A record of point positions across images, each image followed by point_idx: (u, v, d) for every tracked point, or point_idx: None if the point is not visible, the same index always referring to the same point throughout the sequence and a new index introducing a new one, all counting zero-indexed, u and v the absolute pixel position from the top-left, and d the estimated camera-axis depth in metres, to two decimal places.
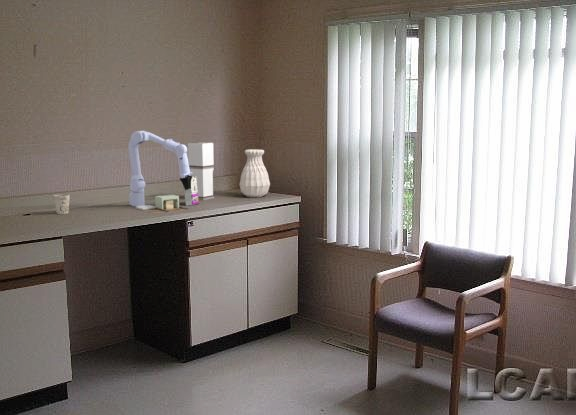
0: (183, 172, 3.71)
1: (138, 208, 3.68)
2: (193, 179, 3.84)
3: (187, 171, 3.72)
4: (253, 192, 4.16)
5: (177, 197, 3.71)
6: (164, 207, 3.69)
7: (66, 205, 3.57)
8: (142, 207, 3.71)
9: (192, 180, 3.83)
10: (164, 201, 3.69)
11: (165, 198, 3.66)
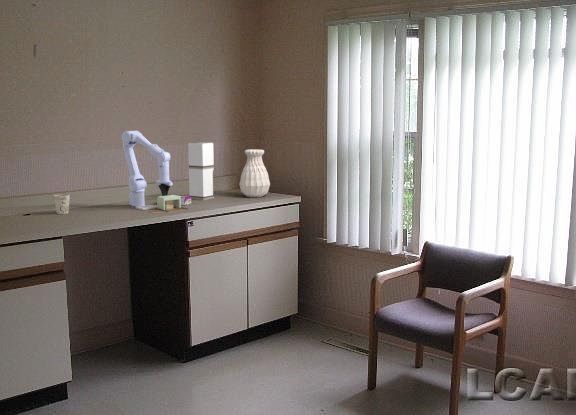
0: (166, 180, 3.69)
1: (138, 208, 3.68)
2: None
3: None
4: (253, 192, 4.16)
5: (179, 197, 3.70)
6: None
7: (66, 205, 3.57)
8: (142, 207, 3.71)
9: None
10: None
11: (167, 198, 3.64)
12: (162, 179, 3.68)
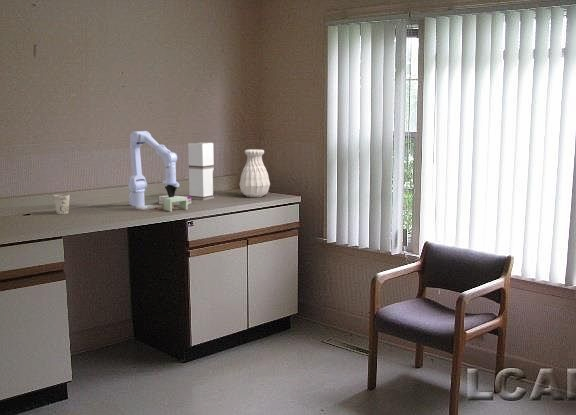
0: (173, 181, 3.63)
1: (138, 208, 3.68)
2: None
3: (175, 180, 3.65)
4: (253, 192, 4.16)
5: (186, 199, 3.64)
6: None
7: (66, 205, 3.57)
8: (142, 207, 3.71)
9: None
10: None
11: (174, 200, 3.59)
12: (169, 180, 3.63)
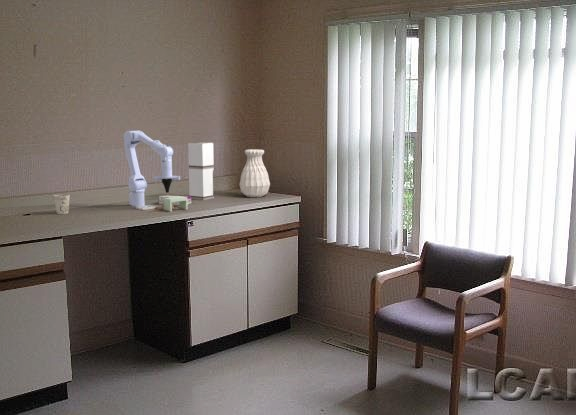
0: (171, 174, 3.68)
1: (138, 208, 3.68)
2: None
3: None
4: (253, 192, 4.16)
5: (186, 199, 3.64)
6: None
7: (66, 205, 3.57)
8: (142, 207, 3.71)
9: None
10: None
11: (174, 200, 3.59)
12: (169, 174, 3.66)
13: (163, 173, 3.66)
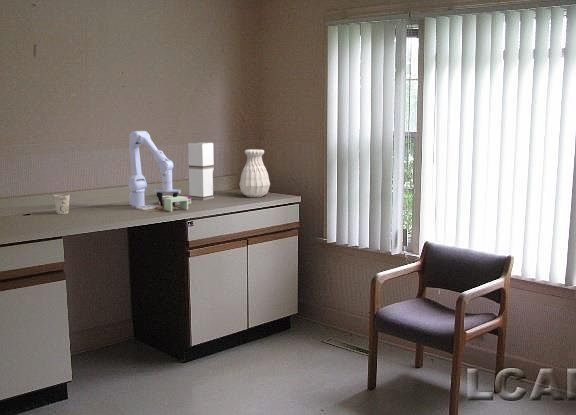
0: None
1: (138, 208, 3.68)
2: None
3: None
4: (253, 192, 4.16)
5: (186, 199, 3.64)
6: None
7: (66, 205, 3.57)
8: (142, 207, 3.71)
9: None
10: None
11: (174, 200, 3.59)
12: (169, 188, 3.67)
13: (163, 187, 3.67)
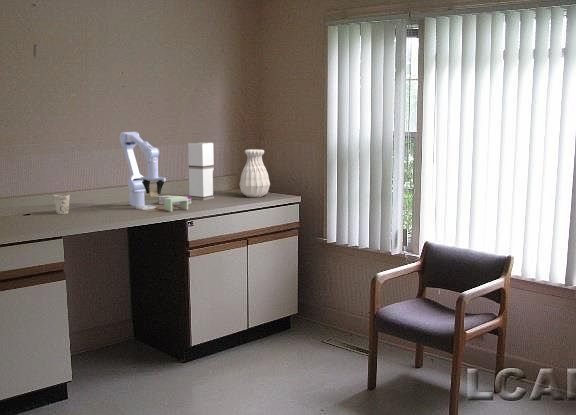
0: (157, 176, 3.66)
1: (138, 208, 3.68)
2: None
3: None
4: (253, 192, 4.16)
5: (186, 199, 3.64)
6: (149, 195, 3.68)
7: (66, 205, 3.57)
8: (142, 207, 3.71)
9: None
10: (149, 189, 3.67)
11: (174, 200, 3.59)
12: (153, 175, 3.65)
13: (148, 174, 3.65)
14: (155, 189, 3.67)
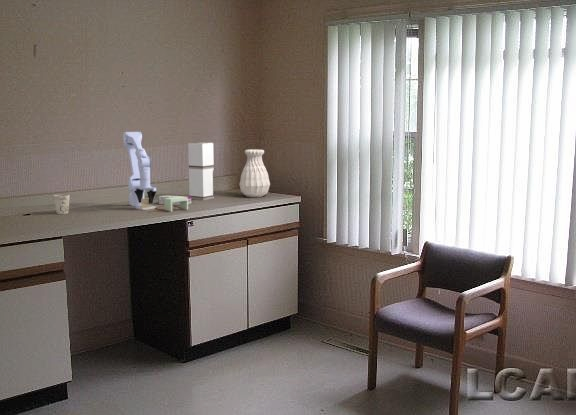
0: (148, 185, 3.66)
1: (138, 208, 3.68)
2: None
3: None
4: (253, 192, 4.16)
5: (186, 199, 3.64)
6: None
7: (66, 205, 3.57)
8: None
9: None
10: (141, 200, 3.68)
11: (174, 200, 3.59)
12: (144, 185, 3.65)
13: (140, 184, 3.66)
14: (146, 201, 3.67)
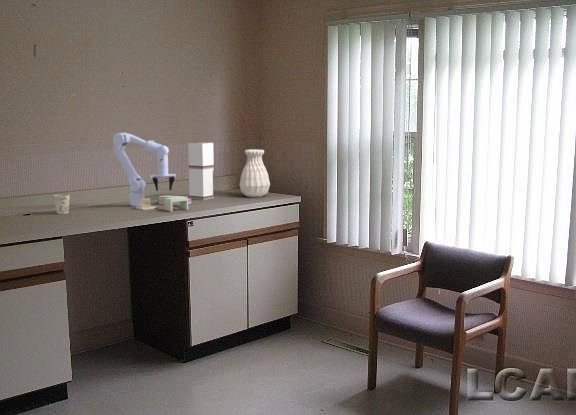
0: None
1: (138, 208, 3.68)
2: None
3: None
4: (253, 192, 4.16)
5: (186, 199, 3.64)
6: None
7: (66, 205, 3.57)
8: None
9: None
10: (141, 200, 3.68)
11: (174, 200, 3.59)
12: (166, 172, 3.75)
13: (161, 171, 3.74)
14: (146, 201, 3.67)
